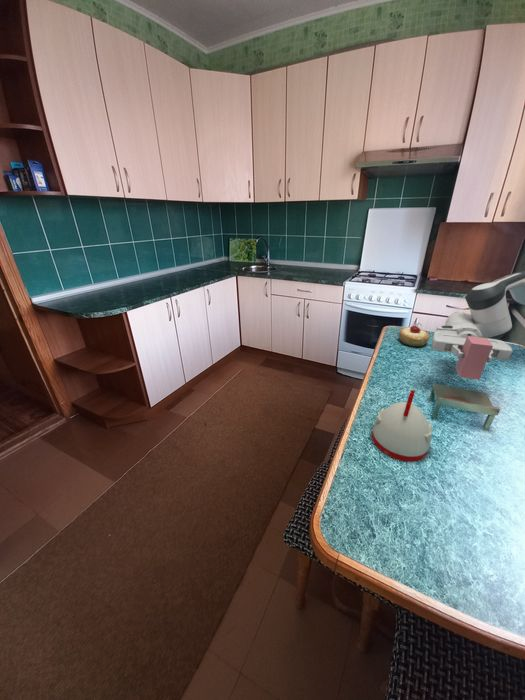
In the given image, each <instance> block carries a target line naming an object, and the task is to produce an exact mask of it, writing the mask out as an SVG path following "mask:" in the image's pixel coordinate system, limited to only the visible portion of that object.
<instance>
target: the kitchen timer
mask: <svg viewBox="0 0 525 700" xmlns="http://www.w3.org/2000/svg"><path fill="white" fill-rule="evenodd" d="M415 393H416V390H414V389H410V392H409V395H408V399H407V400H406V401H407V402H406V401H400V402H396V403H392V404H391V405H390V406H388V407H386V408H384V407H382V408H381V409H380V411H379V412H378V415H377V417H376V419H375V422H374V423H373V427H372V433H371V438H372V441H373V443H374V444H375V446H376V447H377V448H378V449H379V450H380V451H381V452H382V453H383V454H385V455H387V456H388V457H390V458H393V459H395V460H398V461H403V462H417V461H421V460H423V459H424V458H425V457H427V455H428V453H429V450H430V448H431V441H432V435H433V434H432V433H433V429H432V428H433V423H431V422H430V423H429V422H428V420H427V418H426V416H425V414H424V413H423V411H422V410H421V409H420V408H419V407H418V406H417V405H415V404H413V401H414V397H415Z"/></svg>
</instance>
